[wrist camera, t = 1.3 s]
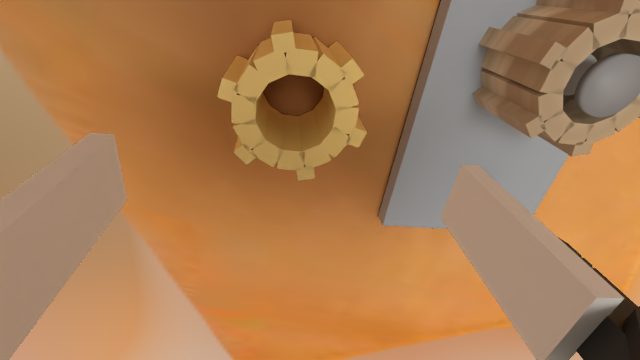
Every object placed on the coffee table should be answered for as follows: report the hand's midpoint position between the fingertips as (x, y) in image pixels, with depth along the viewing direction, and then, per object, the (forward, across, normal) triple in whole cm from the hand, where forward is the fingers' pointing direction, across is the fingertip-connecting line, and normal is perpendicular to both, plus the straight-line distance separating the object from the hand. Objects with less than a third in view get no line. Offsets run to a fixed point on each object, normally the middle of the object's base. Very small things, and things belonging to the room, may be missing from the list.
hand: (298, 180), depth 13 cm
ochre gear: (+12, 0, 0) cm, 13 cm away
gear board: (+12, +16, 0) cm, 20 cm away
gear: (+11, +16, +4) cm, 20 cm away
